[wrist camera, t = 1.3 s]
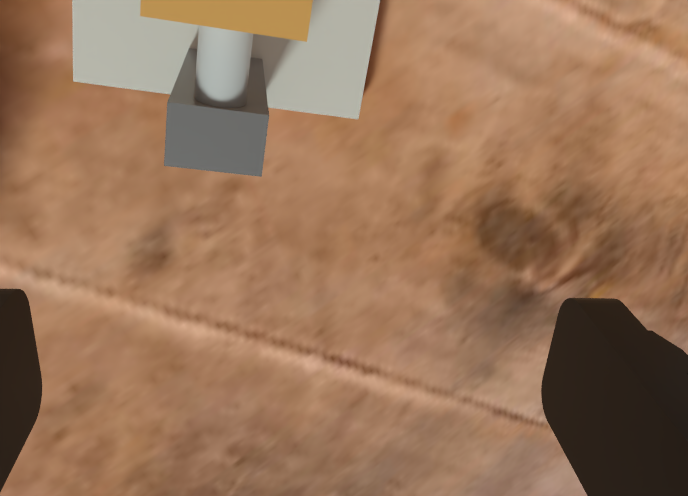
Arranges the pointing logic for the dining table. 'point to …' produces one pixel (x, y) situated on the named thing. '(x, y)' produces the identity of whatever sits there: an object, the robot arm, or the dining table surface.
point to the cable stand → (226, 74)
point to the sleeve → (237, 15)
